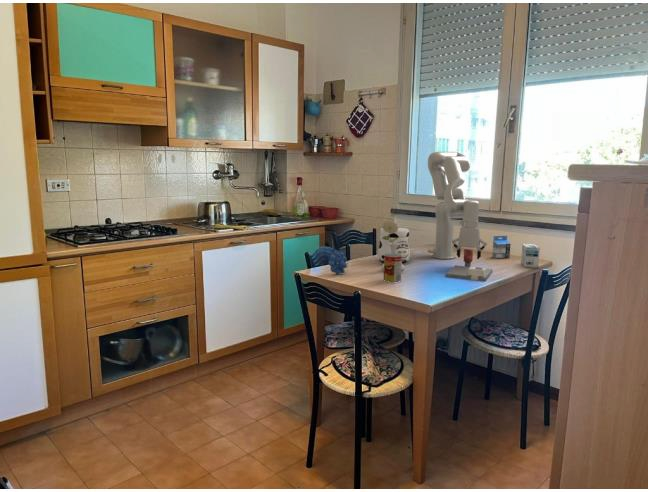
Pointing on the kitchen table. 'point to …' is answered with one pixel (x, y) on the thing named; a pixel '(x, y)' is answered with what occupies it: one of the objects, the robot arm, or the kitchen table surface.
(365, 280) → the kitchen table surface
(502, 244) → the label tape cartridge
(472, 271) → the block
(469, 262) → the reddish rounded cylinder
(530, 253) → the light bulb box
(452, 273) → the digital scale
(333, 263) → the grapes
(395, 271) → the canned food
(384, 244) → the milk container
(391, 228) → the flower in vase
